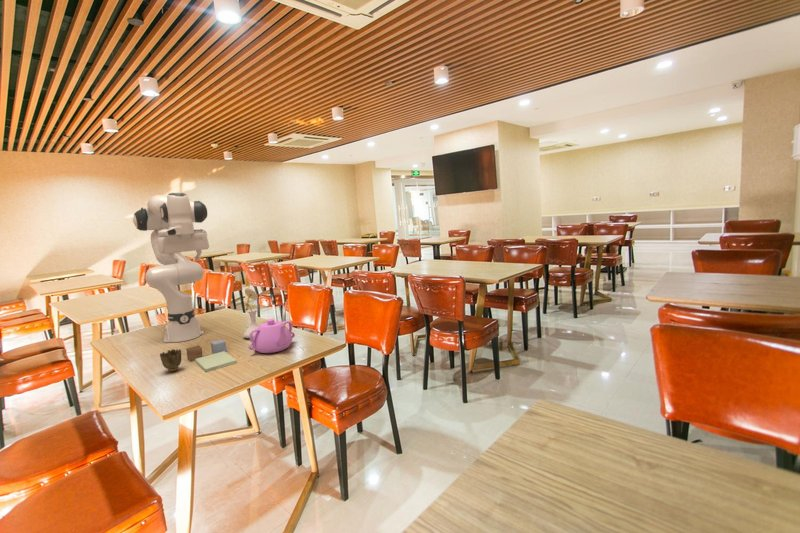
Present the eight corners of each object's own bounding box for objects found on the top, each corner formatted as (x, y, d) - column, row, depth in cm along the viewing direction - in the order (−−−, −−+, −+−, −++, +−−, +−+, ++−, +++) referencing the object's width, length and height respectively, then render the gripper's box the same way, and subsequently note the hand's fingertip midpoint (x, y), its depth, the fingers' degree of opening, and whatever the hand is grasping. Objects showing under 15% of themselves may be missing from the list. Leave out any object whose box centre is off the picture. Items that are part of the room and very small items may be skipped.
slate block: (211, 352, 170) (210, 342, 169) (223, 349, 173) (222, 339, 172) (215, 355, 166) (213, 344, 165) (226, 352, 170) (225, 341, 169)
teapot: (264, 363, 154) (260, 331, 152) (241, 351, 169) (238, 322, 167) (309, 347, 169) (307, 318, 167) (285, 338, 184) (283, 311, 182)
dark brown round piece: (168, 376, 146) (165, 356, 144) (158, 372, 149) (156, 353, 148) (187, 369, 152) (184, 350, 151) (177, 366, 156) (175, 347, 155)
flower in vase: (270, 336, 189) (265, 288, 185) (247, 342, 182) (241, 292, 178) (261, 330, 199) (256, 285, 195) (239, 336, 192) (233, 288, 188)
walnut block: (187, 359, 163) (186, 348, 163) (200, 355, 167) (198, 345, 166) (190, 362, 160) (188, 351, 159) (203, 358, 163) (201, 347, 162)
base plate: (195, 361, 159) (194, 359, 159) (224, 353, 167) (224, 351, 167) (205, 372, 148) (205, 369, 147) (236, 362, 156) (236, 360, 155)
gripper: (202, 229, 172) (206, 258, 174) (153, 232, 155) (158, 264, 157) (209, 228, 168) (213, 258, 170) (160, 231, 151) (165, 265, 153)
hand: (186, 261), depth 163 cm, fingers open, 8 cm apart
